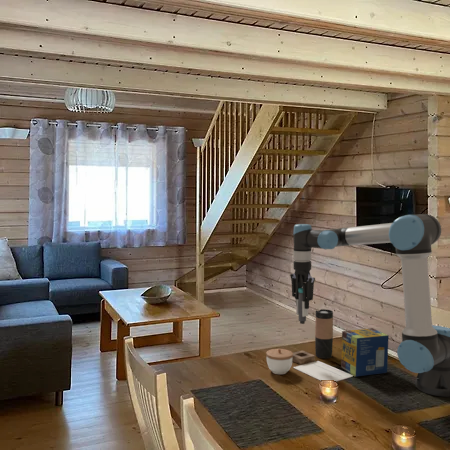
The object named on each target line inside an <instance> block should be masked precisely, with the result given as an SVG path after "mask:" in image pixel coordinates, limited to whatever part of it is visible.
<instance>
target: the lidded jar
mask: <svg viewBox="0 0 450 450" xmlns="http://www.w3.org/2000/svg"><path fill="white" fill-rule="evenodd" d="M293 353H294V352H292V351H291V350H289V349H285V348H272V349H269V350H267V351H266V352H265V355H266V356H265V357H266V363H267V367H268V369H269V370H270V371H271V373H273V374H275V375H286V374H287V373H288V372H289V370H290V369H291V367H292V365H293Z"/></svg>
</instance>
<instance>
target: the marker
mask: <svg viewBox="0 0 450 450" xmlns="http://www.w3.org/2000/svg"><path fill="white" fill-rule="evenodd" d="M298 292H299V315H298V322H299V324H300V325H304V324H305V323H306V322H307V316H304V317H303V316H302V300H304V298H303V288H298Z"/></svg>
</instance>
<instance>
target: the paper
mask: <svg viewBox="0 0 450 450" xmlns="http://www.w3.org/2000/svg"><path fill="white" fill-rule="evenodd" d="M293 369H294V370H297V371H299V372H301V373H303V374H306V375H308V376H310V377H311V378H314V379H316V380H318V381H320V382H322V381H321V380H334V381H336V382H335V383H337V382H339V381H343V380H346V379H350V378H353V376H354V375H352V374H350V373H349V372H347V371H345V370H344V371H343V370H341V369H338V368H336V367H334V366H333V365H332V366H331V365H329V364H327V363H325V362H322V361H319V360H317V361H316V360H315V361H314V362H310V363H306V364H302V365H300V364H299V365H296V366H293Z"/></svg>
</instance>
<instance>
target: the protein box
mask: <svg viewBox="0 0 450 450" xmlns="http://www.w3.org/2000/svg"><path fill="white" fill-rule="evenodd" d="M388 354H389V335H388V334H386V333H383V332H382V331H380V330H377V329H375V328H361V329H350V330H342V332H341V358H340V361H341V363H340V368H341V369H342V370H344V371H345V372H346V373H349V374H351V375H353V376H354V377H362V376H371V375H377V374H386V373H388V363H389V362H388V359H389V358H388V357H389V355H388Z"/></svg>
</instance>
